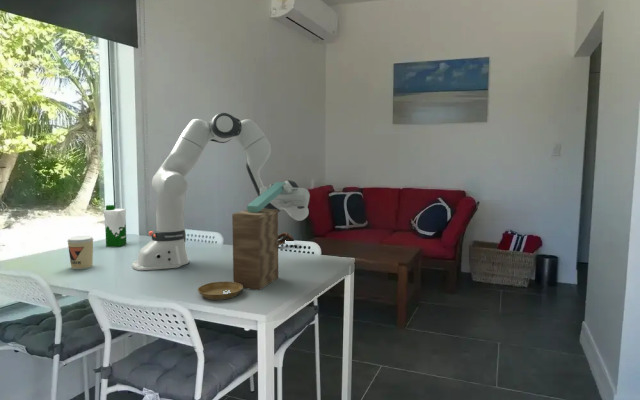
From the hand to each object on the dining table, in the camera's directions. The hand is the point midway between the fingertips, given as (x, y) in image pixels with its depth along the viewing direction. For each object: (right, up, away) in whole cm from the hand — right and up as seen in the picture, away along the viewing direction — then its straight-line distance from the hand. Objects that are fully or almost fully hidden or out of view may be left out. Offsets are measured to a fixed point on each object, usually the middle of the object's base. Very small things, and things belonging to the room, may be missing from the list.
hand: (277, 185), depth 184 cm
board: (-3, -5, -8) cm, 10 cm away
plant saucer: (-17, -38, -28) cm, 49 cm away
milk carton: (-85, -28, +49) cm, 102 cm away
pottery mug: (0, -29, +47) cm, 55 cm away
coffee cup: (-81, -33, +7) cm, 87 cm away
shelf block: (-6, -35, -14) cm, 39 cm away
